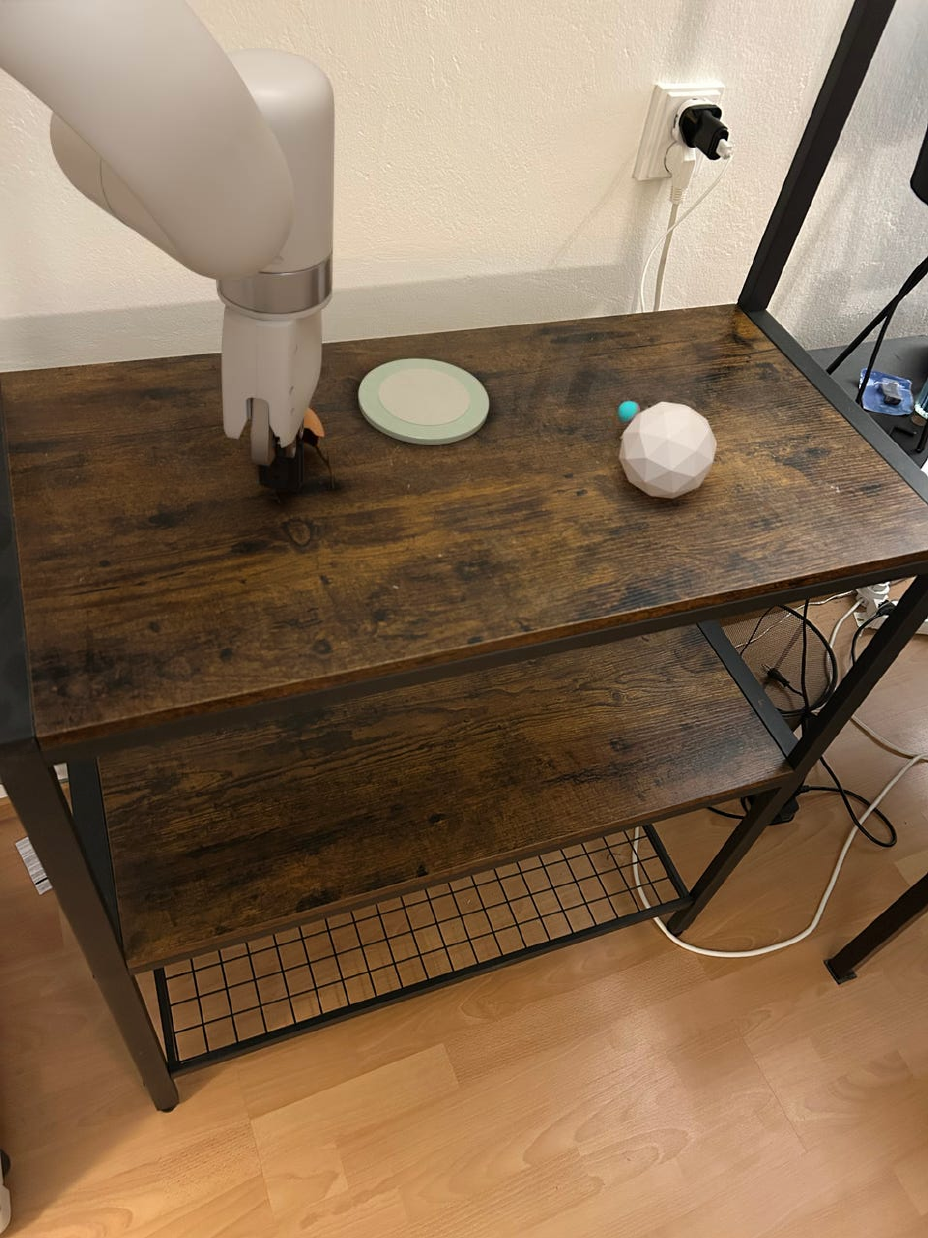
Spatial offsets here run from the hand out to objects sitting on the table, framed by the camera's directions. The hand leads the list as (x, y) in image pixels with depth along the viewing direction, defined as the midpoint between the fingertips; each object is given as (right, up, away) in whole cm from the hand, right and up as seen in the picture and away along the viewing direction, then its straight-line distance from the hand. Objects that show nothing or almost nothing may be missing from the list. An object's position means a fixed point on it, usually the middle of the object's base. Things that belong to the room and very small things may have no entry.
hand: (282, 482), depth 77 cm
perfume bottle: (+31, +2, +10) cm, 32 cm away
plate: (+11, +9, +13) cm, 19 cm away
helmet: (0, +2, +5) cm, 5 cm away
